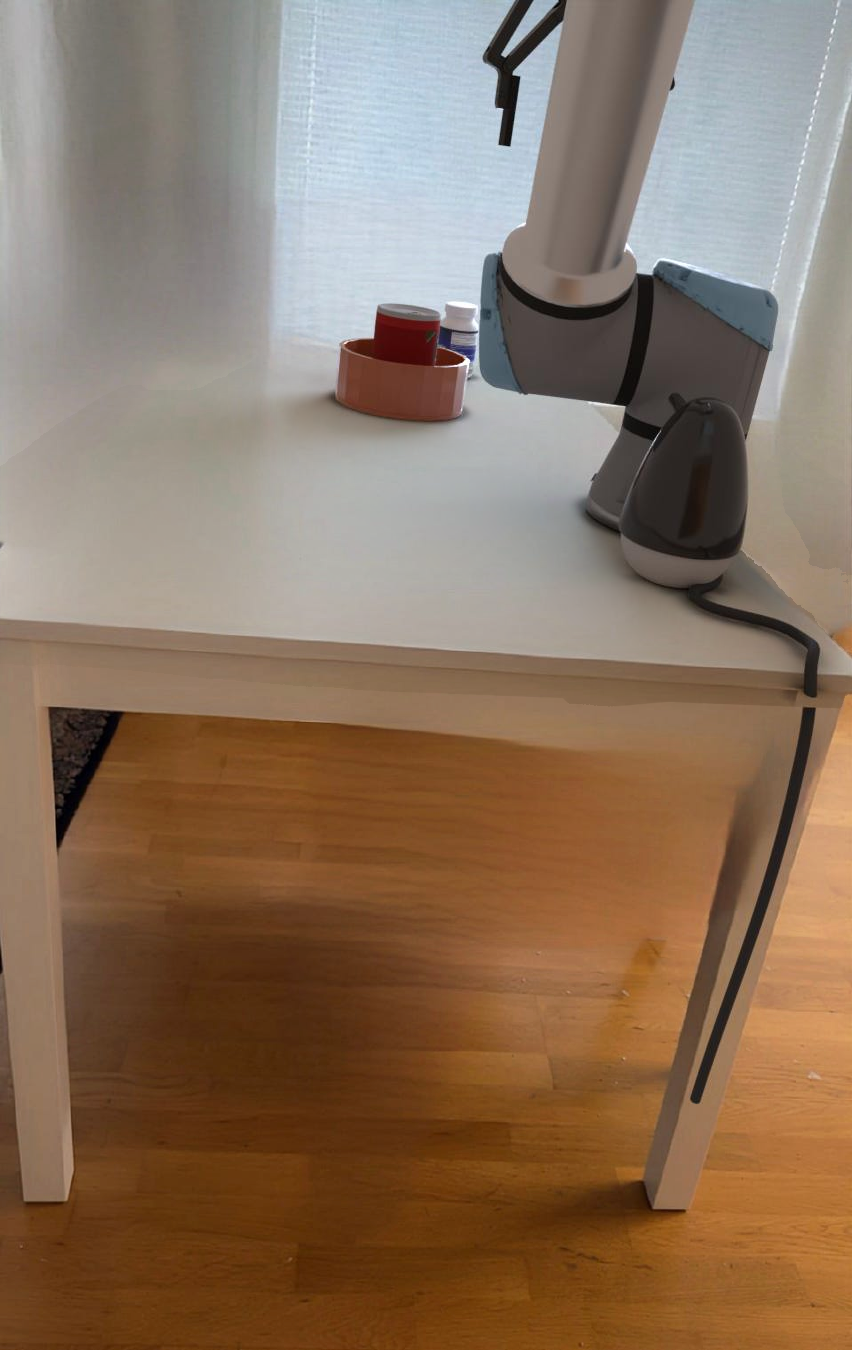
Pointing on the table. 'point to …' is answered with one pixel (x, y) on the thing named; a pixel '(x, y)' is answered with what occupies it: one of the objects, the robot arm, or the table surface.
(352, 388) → the terracotta bowl
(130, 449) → the table surface
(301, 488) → the table surface
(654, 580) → the dark two-tone rounded device
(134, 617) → the table surface
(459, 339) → the pill bottle
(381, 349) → the canned food
